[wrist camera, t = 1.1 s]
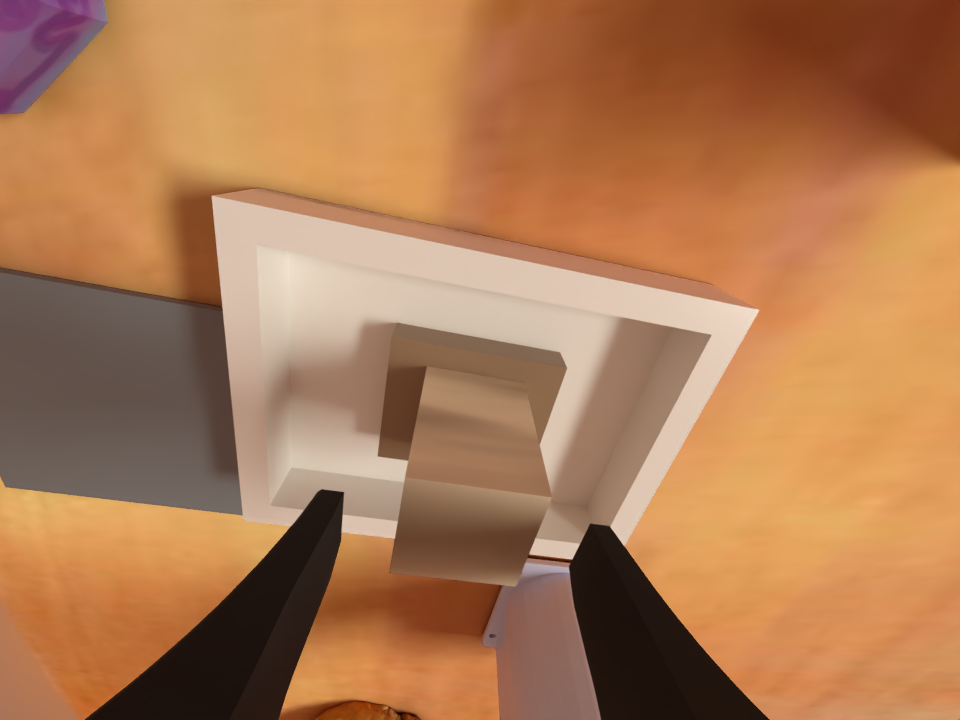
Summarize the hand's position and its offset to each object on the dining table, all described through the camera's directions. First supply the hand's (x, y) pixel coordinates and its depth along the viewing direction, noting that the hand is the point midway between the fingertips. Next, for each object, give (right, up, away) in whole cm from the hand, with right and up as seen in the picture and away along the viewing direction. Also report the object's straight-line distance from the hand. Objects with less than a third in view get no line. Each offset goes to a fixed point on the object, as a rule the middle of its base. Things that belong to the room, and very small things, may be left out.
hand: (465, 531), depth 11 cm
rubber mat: (-17, +3, +7) cm, 18 cm away
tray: (0, +4, +7) cm, 8 cm away
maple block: (0, +3, +5) cm, 6 cm away
